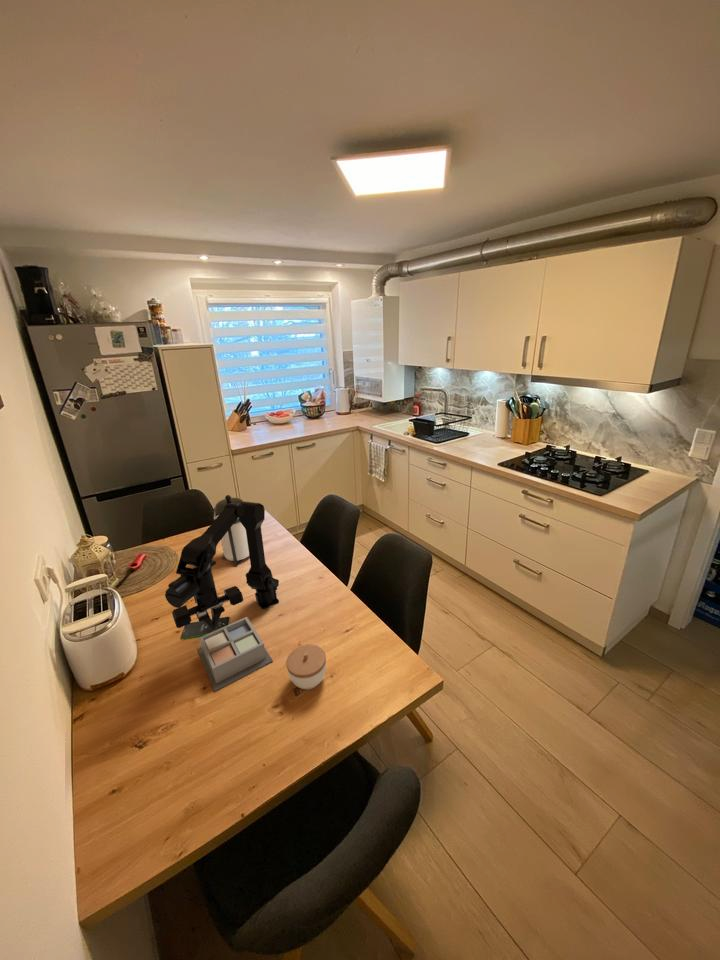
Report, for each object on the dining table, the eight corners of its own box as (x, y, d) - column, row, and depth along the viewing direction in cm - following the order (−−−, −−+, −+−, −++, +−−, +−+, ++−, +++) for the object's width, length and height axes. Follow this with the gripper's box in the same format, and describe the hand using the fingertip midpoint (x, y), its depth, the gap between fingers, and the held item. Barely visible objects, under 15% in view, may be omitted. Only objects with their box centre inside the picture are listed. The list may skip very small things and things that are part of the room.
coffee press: (253, 566, 163) (242, 501, 152) (216, 567, 163) (202, 503, 153) (264, 545, 179) (254, 485, 168) (230, 546, 179) (218, 487, 169)
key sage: (254, 643, 119) (252, 634, 117) (261, 654, 114) (259, 645, 113) (236, 651, 116) (234, 643, 114) (242, 663, 111) (240, 654, 110)
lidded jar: (296, 703, 100) (292, 676, 97) (284, 674, 109) (280, 648, 106) (334, 686, 104) (331, 659, 101) (319, 659, 113) (316, 634, 110)
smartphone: (185, 622, 131) (230, 615, 133) (185, 625, 131) (231, 617, 133) (179, 638, 124) (227, 630, 126) (180, 641, 124) (228, 632, 126)
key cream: (225, 640, 120) (223, 631, 119) (230, 650, 116) (228, 642, 115) (206, 648, 117) (204, 640, 116) (211, 659, 113) (209, 651, 112)
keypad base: (250, 625, 128) (247, 611, 126) (272, 661, 113) (270, 646, 111) (197, 649, 119) (194, 635, 117) (214, 691, 105) (210, 676, 103)
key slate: (247, 632, 124) (245, 624, 123) (253, 643, 120) (251, 634, 119) (230, 640, 121) (228, 632, 120) (235, 651, 117) (233, 643, 116)
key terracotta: (231, 653, 115) (229, 645, 114) (237, 665, 111) (235, 656, 109) (212, 662, 112) (210, 654, 111) (218, 675, 108) (216, 666, 106)
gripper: (227, 561, 120) (236, 602, 125) (163, 584, 110) (175, 627, 115) (239, 577, 111) (247, 621, 116) (170, 604, 101) (183, 650, 107)
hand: (214, 628), depth 114 cm, fingers closed
